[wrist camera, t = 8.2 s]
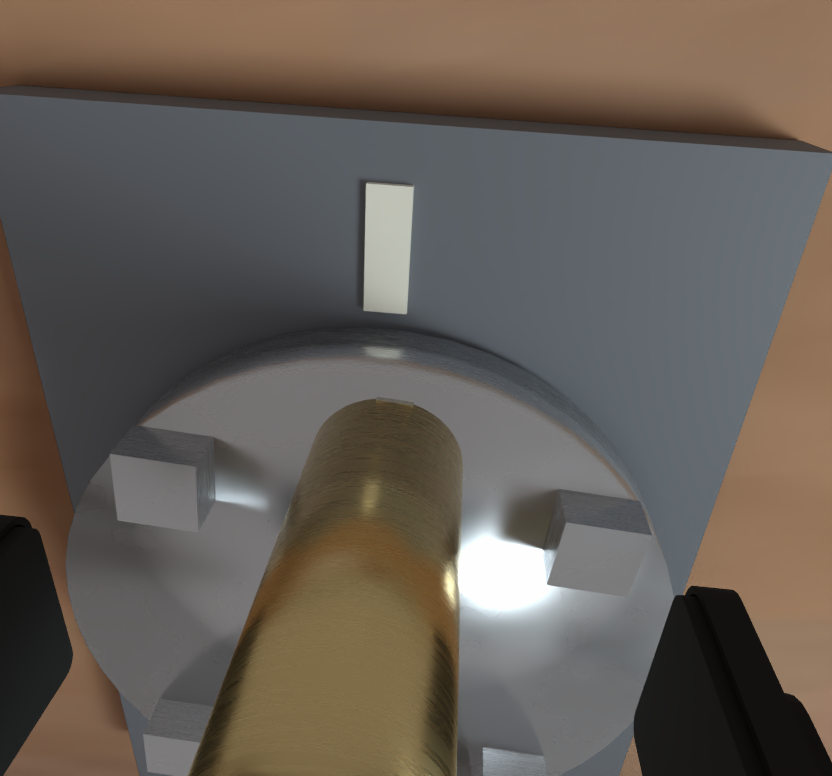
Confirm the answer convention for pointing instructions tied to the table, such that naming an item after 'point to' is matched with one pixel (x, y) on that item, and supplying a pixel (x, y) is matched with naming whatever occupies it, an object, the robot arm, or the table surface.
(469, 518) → the disc with brass post
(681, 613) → the robot arm
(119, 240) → the base plate
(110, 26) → the table surface
